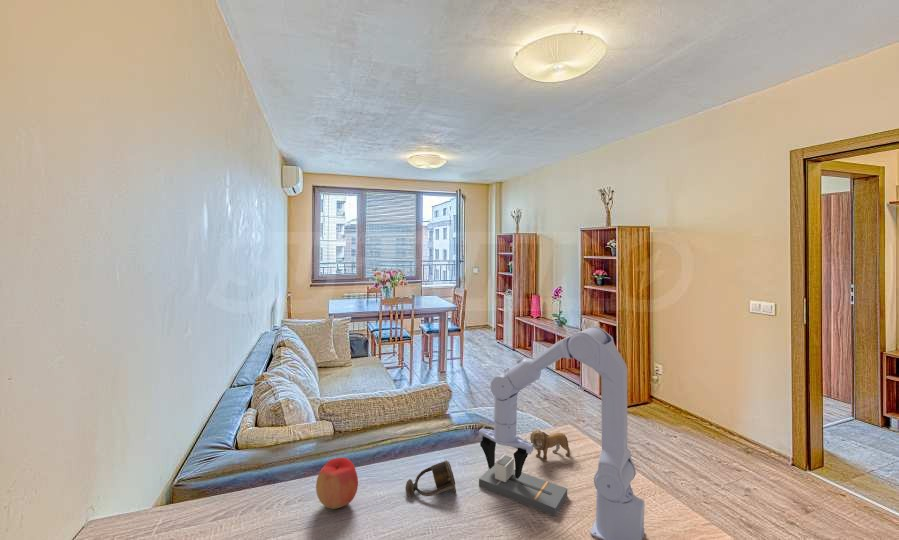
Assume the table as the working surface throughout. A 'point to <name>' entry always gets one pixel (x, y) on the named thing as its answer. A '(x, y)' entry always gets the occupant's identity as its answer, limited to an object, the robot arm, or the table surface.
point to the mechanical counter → (441, 477)
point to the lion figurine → (548, 442)
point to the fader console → (527, 491)
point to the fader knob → (504, 468)
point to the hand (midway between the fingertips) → (504, 471)
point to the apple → (337, 483)
